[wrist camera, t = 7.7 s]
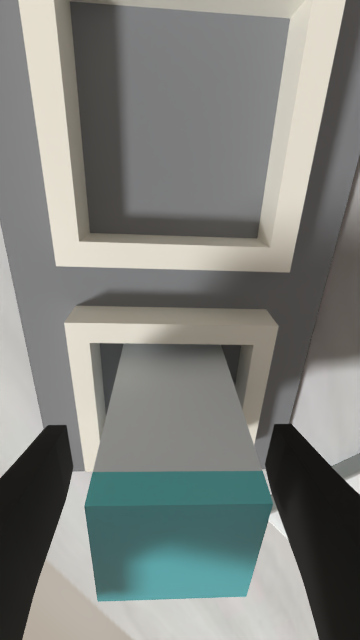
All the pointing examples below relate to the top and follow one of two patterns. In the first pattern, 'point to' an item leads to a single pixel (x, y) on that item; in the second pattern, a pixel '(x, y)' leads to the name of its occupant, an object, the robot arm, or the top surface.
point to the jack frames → (176, 251)
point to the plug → (175, 480)
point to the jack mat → (172, 182)
